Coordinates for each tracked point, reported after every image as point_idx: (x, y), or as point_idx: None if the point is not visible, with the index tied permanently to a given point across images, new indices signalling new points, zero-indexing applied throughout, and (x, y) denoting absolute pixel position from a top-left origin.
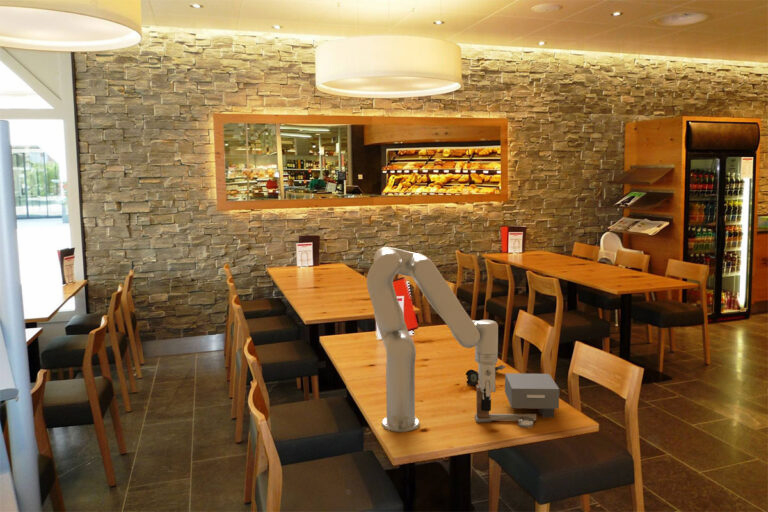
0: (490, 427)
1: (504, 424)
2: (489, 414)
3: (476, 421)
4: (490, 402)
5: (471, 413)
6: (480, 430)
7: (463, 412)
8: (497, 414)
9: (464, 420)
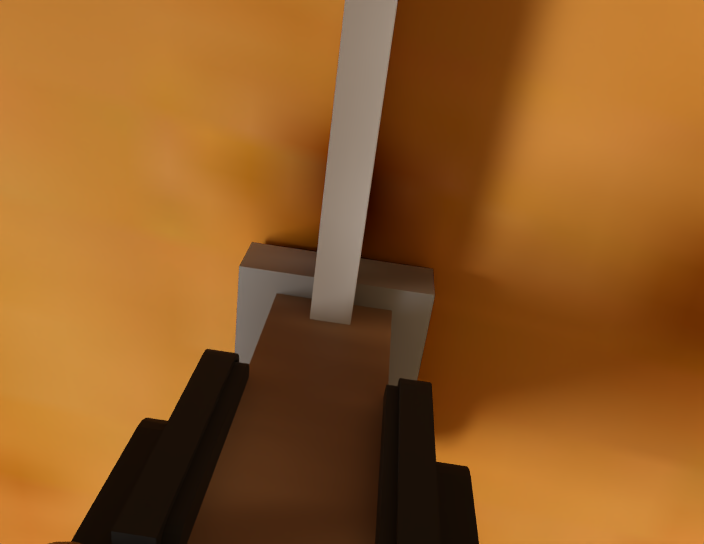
0: (590, 311)
1: (528, 64)
2: (333, 310)
3: None
4: (434, 522)
5: (86, 418)
6: (650, 450)
7: (63, 491)
8: (352, 176)
9: None
